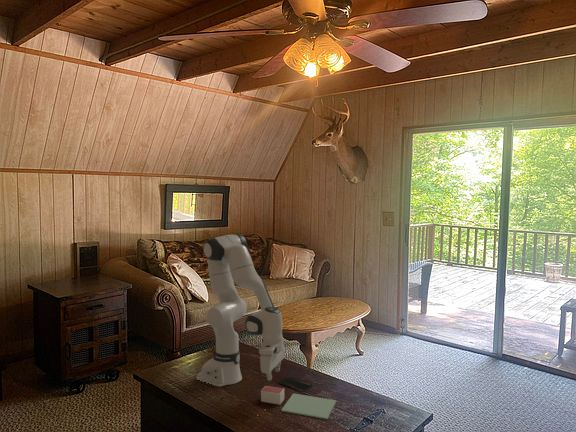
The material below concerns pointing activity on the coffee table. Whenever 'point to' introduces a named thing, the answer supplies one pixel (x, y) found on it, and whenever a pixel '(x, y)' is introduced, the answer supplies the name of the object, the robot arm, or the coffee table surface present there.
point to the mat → (309, 406)
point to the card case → (272, 395)
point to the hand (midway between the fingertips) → (273, 375)
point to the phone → (296, 384)
